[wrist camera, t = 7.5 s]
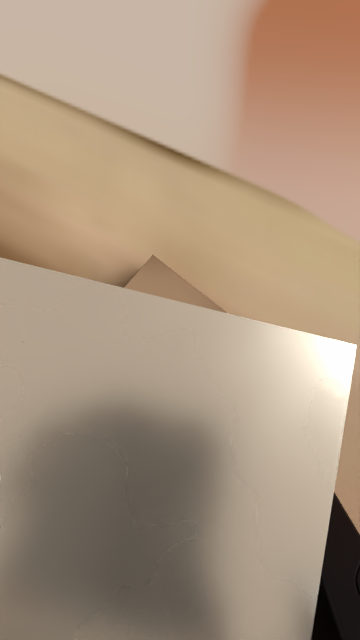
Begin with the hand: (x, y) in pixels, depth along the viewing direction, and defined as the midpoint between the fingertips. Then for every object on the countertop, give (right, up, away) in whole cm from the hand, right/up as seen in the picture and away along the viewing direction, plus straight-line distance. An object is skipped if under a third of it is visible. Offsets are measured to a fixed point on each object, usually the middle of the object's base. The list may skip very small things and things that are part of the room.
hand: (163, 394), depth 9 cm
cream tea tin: (0, -3, +6) cm, 7 cm away
